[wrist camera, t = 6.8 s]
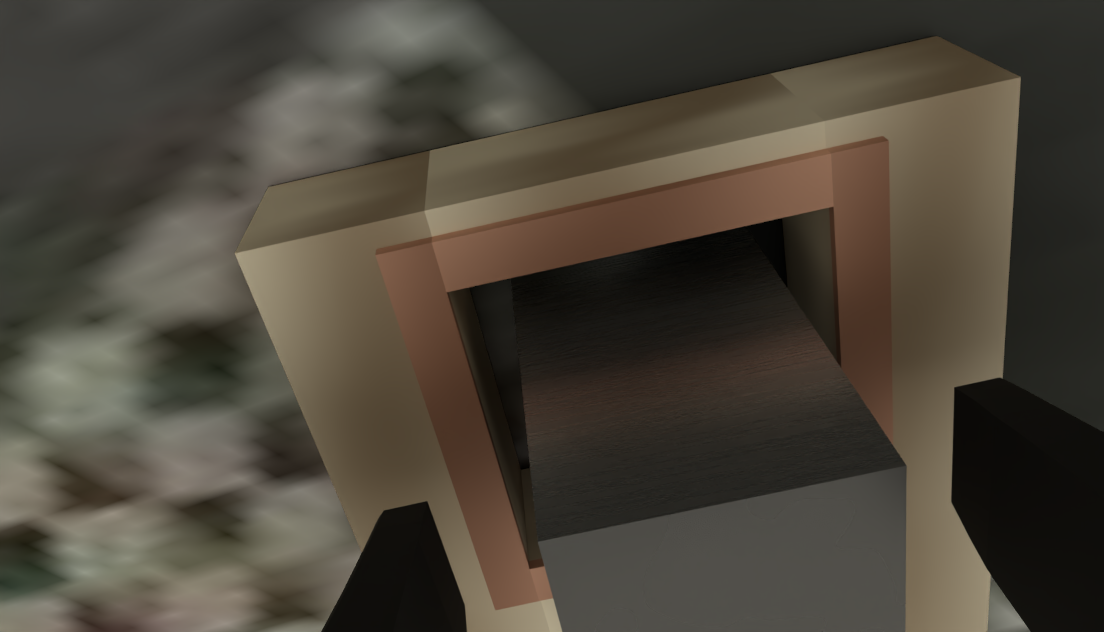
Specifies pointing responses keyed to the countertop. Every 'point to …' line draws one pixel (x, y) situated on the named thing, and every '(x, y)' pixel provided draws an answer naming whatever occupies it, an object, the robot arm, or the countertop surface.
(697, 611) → the grey rectangular block
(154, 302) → the countertop surface
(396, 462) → the rail plate
